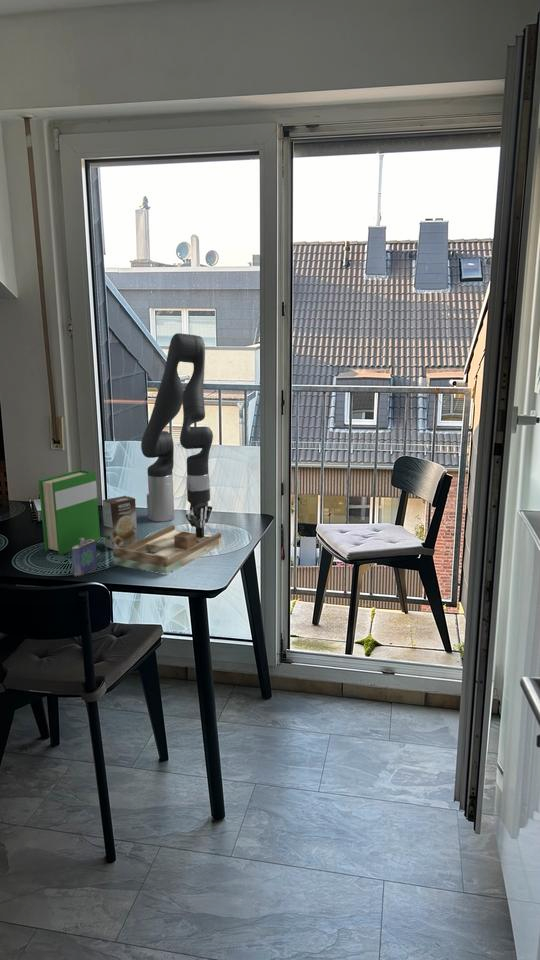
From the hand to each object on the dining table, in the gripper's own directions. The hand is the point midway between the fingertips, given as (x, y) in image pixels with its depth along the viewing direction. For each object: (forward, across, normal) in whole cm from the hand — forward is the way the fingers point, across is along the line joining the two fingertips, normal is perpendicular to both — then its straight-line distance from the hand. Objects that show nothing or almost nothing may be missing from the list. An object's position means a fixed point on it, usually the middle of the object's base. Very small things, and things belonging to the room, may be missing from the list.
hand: (200, 537), depth 230 cm
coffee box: (+3, +11, -25) cm, 27 cm away
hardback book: (+3, +18, -40) cm, 44 cm away
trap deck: (+3, +11, -5) cm, 12 cm away
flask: (+3, +35, -19) cm, 40 cm away
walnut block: (+1, +8, 0) cm, 9 cm away
